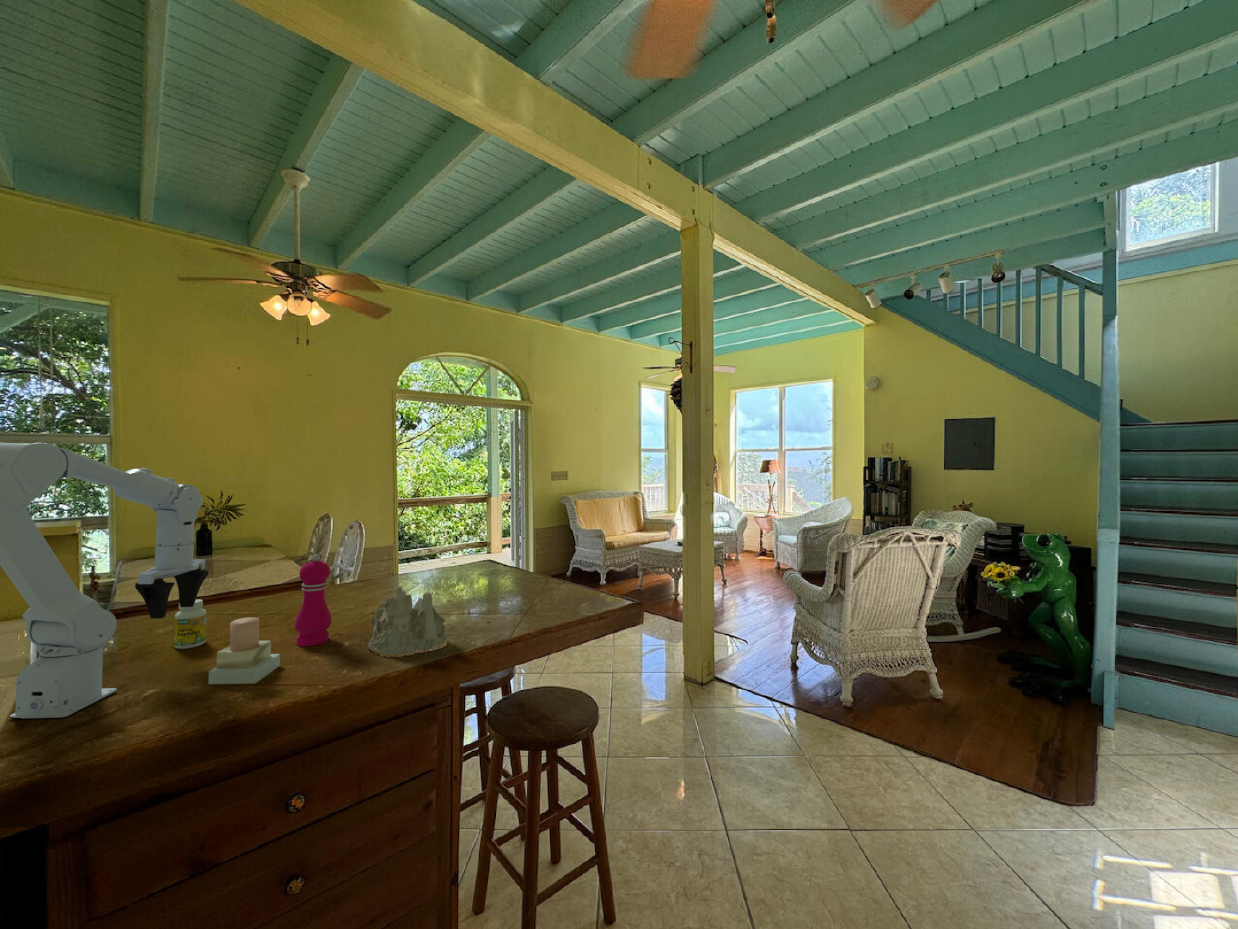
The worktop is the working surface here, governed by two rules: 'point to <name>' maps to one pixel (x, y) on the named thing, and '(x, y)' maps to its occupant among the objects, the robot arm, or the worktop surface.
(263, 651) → the birch top slab
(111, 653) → the worktop surface
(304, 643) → the pepper mill
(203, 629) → the supplement bottle
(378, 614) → the grey rock mountain model
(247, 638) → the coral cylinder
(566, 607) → the worktop surface
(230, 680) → the grey base slab
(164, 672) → the worktop surface
